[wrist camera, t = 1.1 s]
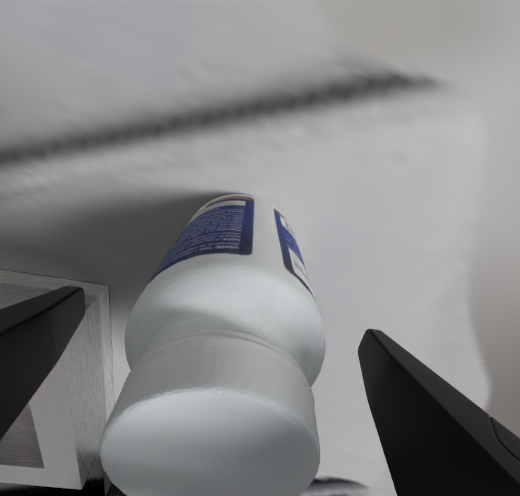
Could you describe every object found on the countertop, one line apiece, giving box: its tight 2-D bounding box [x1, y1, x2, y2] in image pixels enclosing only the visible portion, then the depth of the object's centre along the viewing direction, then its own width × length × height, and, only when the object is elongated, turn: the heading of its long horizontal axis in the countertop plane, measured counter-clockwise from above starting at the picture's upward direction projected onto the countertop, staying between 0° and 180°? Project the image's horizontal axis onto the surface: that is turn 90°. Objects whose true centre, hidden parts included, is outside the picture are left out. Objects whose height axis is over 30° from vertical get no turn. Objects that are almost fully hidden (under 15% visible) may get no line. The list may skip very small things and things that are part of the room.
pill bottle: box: [99, 194, 325, 496], centre depth 9 cm, size 5×5×10 cm
